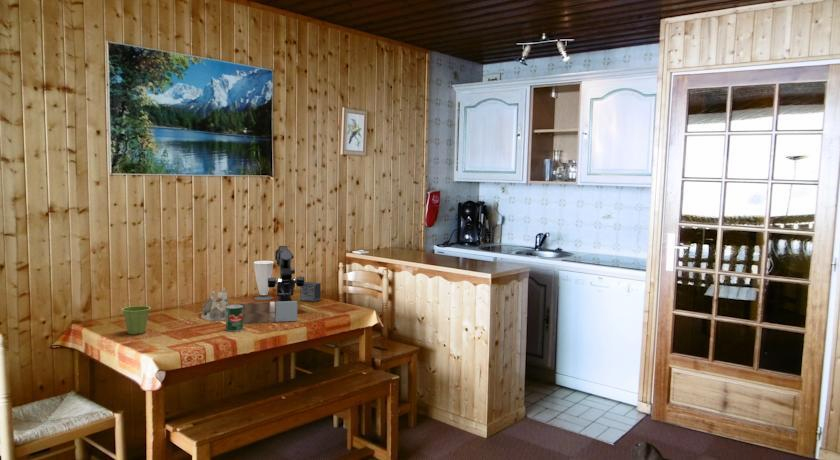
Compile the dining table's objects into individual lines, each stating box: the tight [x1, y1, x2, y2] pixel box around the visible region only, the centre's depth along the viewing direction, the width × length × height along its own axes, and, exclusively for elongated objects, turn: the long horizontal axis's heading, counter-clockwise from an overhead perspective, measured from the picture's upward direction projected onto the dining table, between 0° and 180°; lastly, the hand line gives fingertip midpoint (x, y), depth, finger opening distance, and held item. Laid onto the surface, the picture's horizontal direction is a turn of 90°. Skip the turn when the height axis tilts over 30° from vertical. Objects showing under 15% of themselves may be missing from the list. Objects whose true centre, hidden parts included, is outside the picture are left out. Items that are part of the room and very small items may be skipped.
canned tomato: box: [225, 304, 244, 332], centre depth 280 cm, size 8×8×11 cm
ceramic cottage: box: [200, 287, 230, 322], centre depth 302 cm, size 16×16×15 cm
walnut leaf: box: [238, 301, 276, 325], centre depth 293 cm, size 17×2×10 cm, turn 106°
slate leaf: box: [269, 300, 298, 323], centre depth 296 cm, size 13×2×10 cm, turn 104°
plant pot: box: [121, 305, 151, 335], centre depth 271 cm, size 12×12×11 cm
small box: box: [299, 281, 322, 303], centre depth 348 cm, size 11×6×10 cm, turn 65°
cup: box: [253, 260, 275, 301], centre depth 352 cm, size 12×12×22 cm
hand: (286, 295), depth 310 cm, fingers closed
